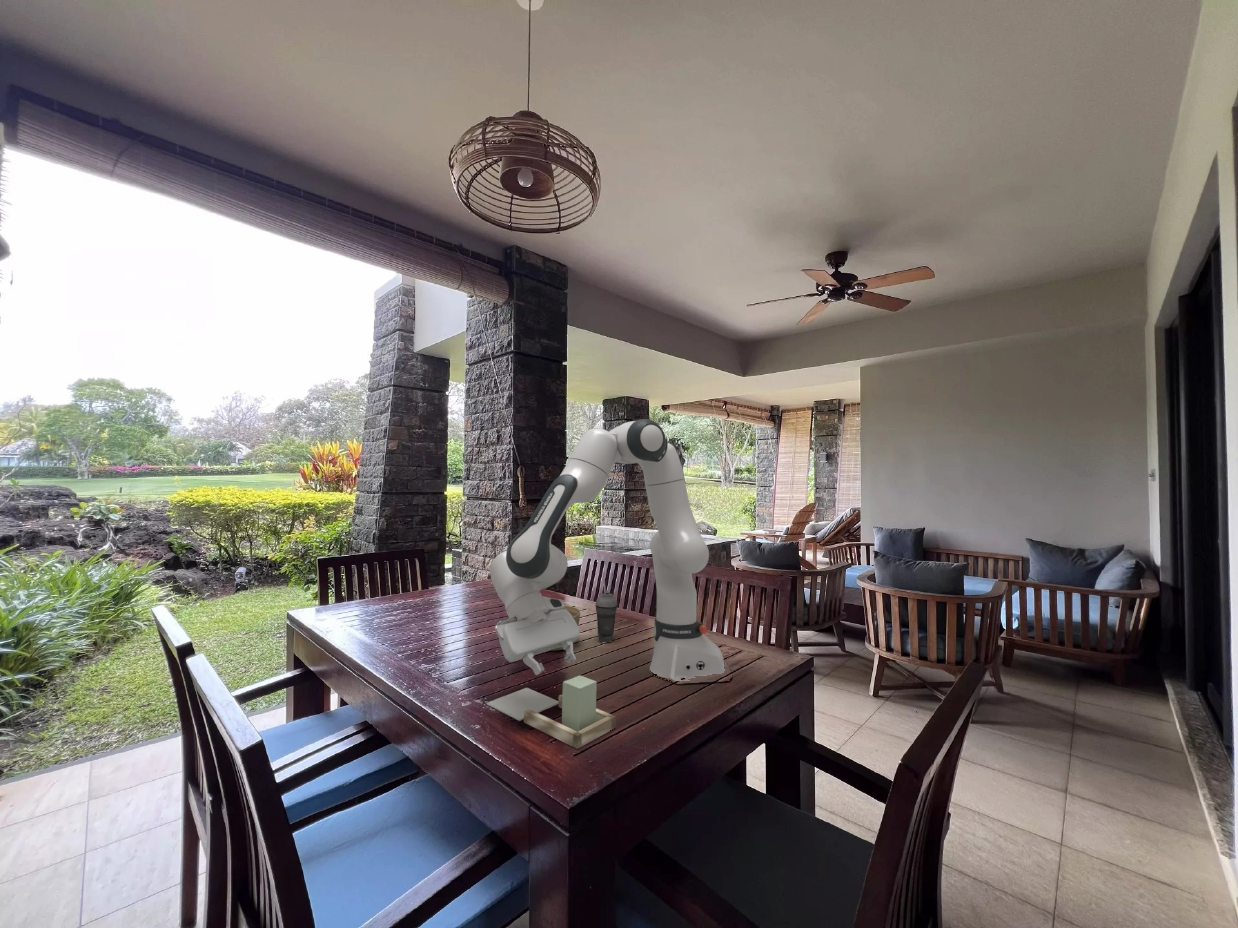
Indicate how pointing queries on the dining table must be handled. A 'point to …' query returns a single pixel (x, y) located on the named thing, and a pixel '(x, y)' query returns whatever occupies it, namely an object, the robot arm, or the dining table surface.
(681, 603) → the robot arm
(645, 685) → the dining table surface
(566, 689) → the block
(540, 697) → the mat
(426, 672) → the dining table surface
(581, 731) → the lane
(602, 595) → the beverage cup
